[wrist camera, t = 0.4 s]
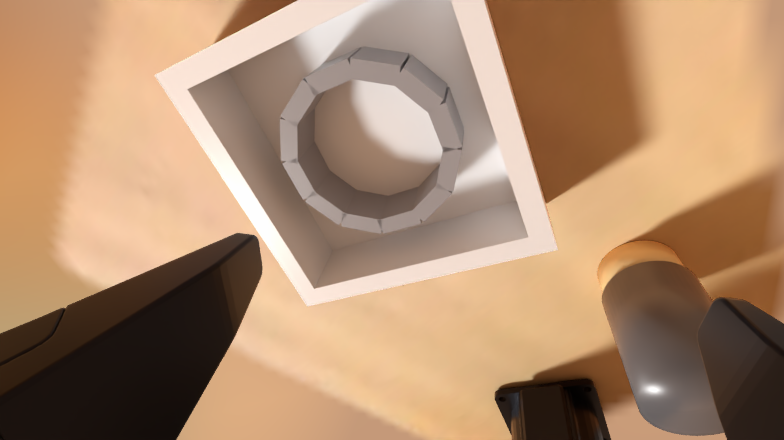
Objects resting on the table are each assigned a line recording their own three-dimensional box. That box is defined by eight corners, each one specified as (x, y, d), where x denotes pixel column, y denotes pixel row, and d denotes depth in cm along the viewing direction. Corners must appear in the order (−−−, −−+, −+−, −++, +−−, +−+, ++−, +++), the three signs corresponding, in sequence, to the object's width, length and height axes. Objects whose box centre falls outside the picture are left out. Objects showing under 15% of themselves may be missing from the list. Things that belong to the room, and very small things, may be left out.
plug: (688, 293, 23) (770, 430, 17) (601, 308, 25) (645, 440, 18) (679, 227, 22) (768, 353, 15) (586, 248, 23) (629, 370, 16)
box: (546, 204, 22) (557, 249, 19) (328, 261, 27) (307, 306, 23) (463, -78, 17) (459, -85, 13) (206, 54, 21) (154, 75, 18)
